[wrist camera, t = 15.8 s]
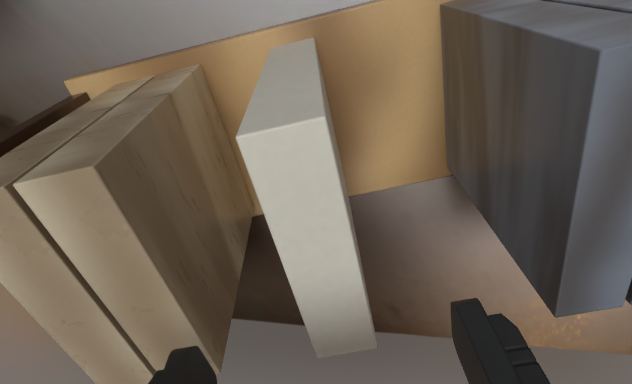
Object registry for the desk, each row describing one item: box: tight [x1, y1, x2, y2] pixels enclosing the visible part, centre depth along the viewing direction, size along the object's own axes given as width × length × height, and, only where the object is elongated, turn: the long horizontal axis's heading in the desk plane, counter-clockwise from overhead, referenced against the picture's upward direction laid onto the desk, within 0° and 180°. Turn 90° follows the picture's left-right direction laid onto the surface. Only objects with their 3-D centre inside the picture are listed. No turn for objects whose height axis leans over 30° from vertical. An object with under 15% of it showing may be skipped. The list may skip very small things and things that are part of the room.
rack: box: [0, 0, 632, 384], centre depth 22 cm, size 34×14×16 cm, turn 103°
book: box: [236, 37, 378, 358], centre depth 21 cm, size 3×12×15 cm, turn 13°
